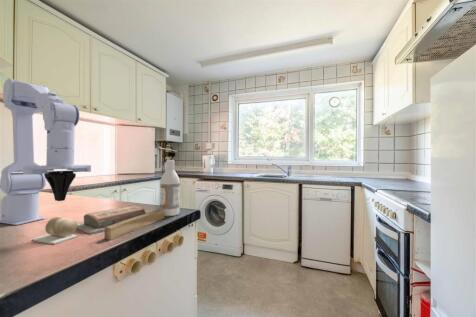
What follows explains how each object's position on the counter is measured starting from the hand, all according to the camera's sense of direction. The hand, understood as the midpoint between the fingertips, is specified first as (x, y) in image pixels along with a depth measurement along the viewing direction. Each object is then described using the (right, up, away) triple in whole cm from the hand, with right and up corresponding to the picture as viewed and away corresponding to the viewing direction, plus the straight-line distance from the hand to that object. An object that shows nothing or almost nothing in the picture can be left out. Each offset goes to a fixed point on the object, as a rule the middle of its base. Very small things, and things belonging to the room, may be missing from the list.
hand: (59, 200), depth 60 cm
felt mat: (+1, -9, -2) cm, 10 cm away
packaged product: (+8, -10, +11) cm, 17 cm away
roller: (+1, -9, -1) cm, 9 cm away
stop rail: (+17, -10, +8) cm, 21 cm away
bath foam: (+22, -10, +24) cm, 34 cm away
